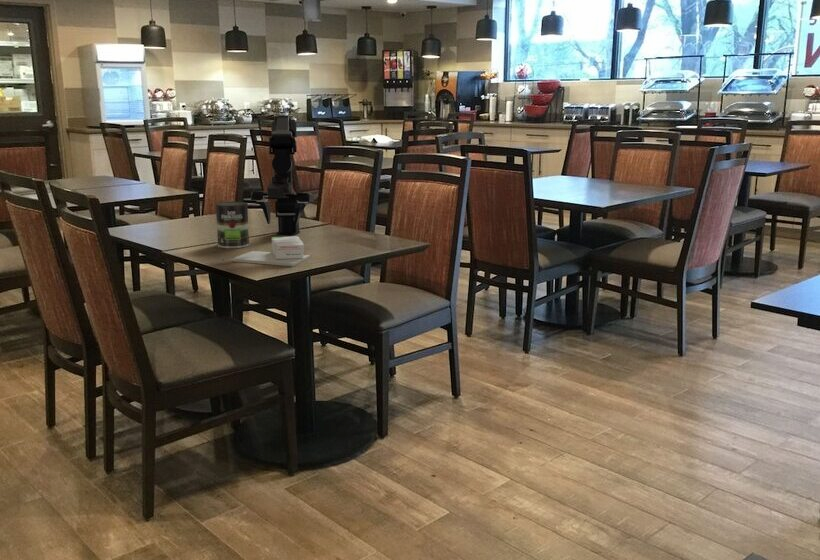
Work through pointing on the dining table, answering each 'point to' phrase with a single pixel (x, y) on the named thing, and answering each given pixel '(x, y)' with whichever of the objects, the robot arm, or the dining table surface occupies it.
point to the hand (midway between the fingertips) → (282, 224)
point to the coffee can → (232, 224)
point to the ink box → (287, 247)
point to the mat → (268, 259)
